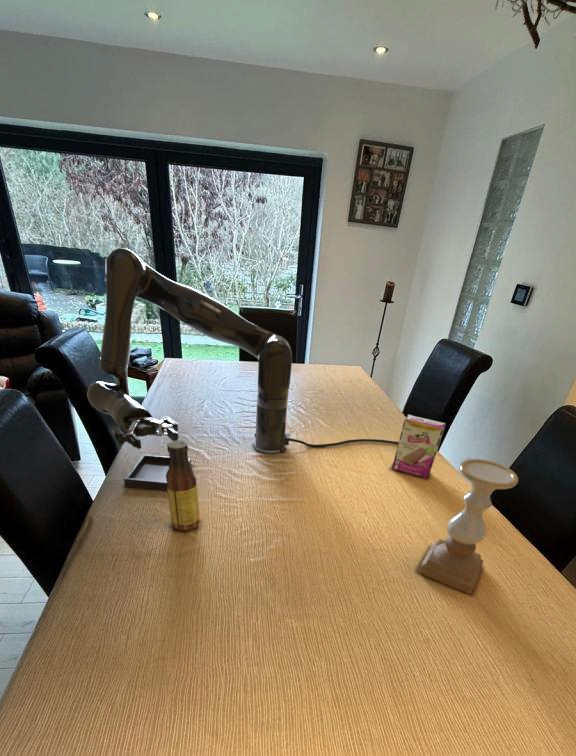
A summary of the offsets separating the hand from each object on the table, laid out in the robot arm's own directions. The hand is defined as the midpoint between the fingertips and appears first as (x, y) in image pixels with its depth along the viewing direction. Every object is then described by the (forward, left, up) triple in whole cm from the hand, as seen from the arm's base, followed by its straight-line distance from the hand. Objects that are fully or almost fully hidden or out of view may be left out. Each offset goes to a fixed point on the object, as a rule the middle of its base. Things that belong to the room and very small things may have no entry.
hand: (158, 441), depth 93 cm
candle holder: (-66, +17, -16) cm, 70 cm away
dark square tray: (+5, -12, -16) cm, 21 cm away
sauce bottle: (-7, +9, -16) cm, 20 cm away
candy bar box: (-67, -28, -16) cm, 75 cm away
